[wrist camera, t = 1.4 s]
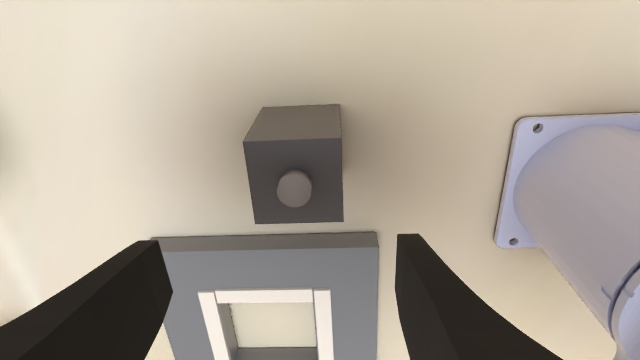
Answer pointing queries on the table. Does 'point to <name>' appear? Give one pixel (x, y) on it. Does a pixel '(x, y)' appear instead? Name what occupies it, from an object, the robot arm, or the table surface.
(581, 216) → the robot arm
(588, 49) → the table surface
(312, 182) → the plug block
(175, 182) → the table surface
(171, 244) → the socket plate
